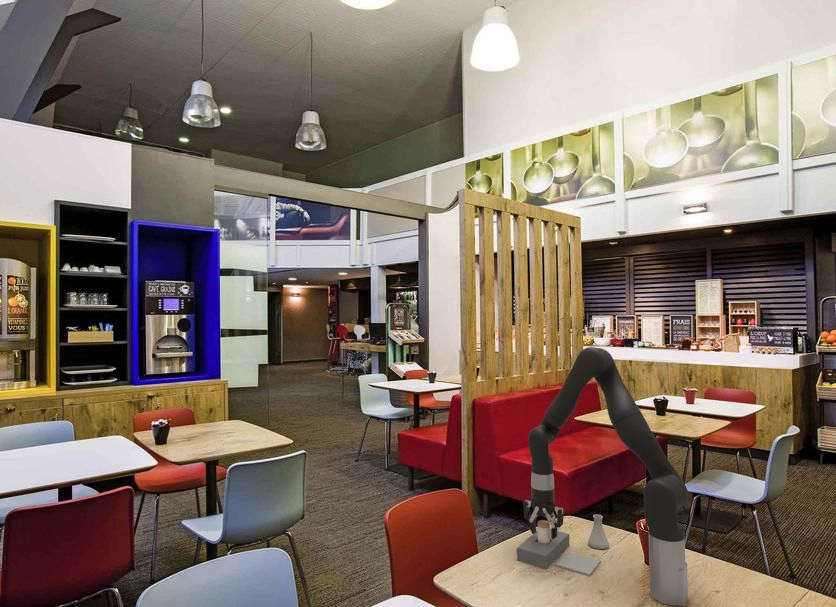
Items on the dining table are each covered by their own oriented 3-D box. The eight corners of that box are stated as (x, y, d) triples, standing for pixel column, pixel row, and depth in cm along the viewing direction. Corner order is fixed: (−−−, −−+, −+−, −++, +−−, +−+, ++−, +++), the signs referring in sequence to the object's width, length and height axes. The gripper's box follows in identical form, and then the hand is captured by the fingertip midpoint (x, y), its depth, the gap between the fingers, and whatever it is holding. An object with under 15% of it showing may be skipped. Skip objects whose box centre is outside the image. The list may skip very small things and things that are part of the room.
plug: (552, 552, 170) (551, 522, 171) (547, 556, 167) (546, 526, 168) (540, 548, 173) (540, 519, 173) (535, 553, 170) (535, 523, 170)
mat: (601, 562, 163) (601, 560, 163) (589, 576, 154) (589, 574, 154) (567, 552, 170) (567, 550, 170) (555, 565, 161) (555, 564, 161)
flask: (612, 550, 171) (612, 520, 172) (591, 550, 171) (590, 520, 172) (605, 540, 179) (604, 512, 179) (584, 540, 179) (584, 512, 179)
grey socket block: (569, 545, 175) (569, 533, 175) (546, 569, 159) (545, 556, 159) (542, 538, 181) (541, 526, 181) (517, 560, 165) (516, 547, 165)
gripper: (567, 486, 169) (568, 537, 169) (527, 478, 178) (528, 526, 178) (559, 493, 163) (560, 545, 163) (518, 484, 172) (519, 534, 172)
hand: (543, 535), depth 170 cm, fingers open, 6 cm apart
